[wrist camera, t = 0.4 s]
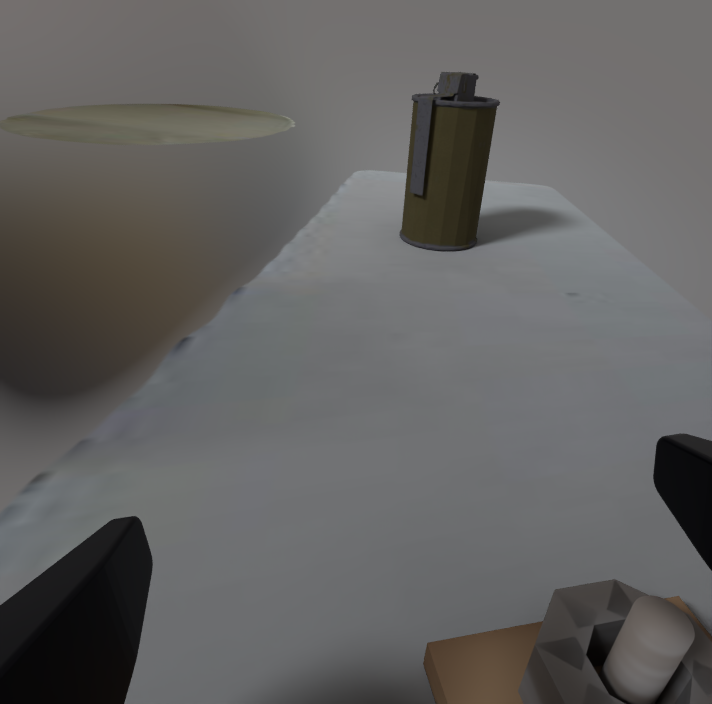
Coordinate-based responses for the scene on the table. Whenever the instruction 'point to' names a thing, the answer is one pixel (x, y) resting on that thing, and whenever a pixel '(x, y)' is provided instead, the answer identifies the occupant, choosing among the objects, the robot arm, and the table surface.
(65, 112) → the table surface
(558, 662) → the gear board
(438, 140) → the canister
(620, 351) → the table surface
